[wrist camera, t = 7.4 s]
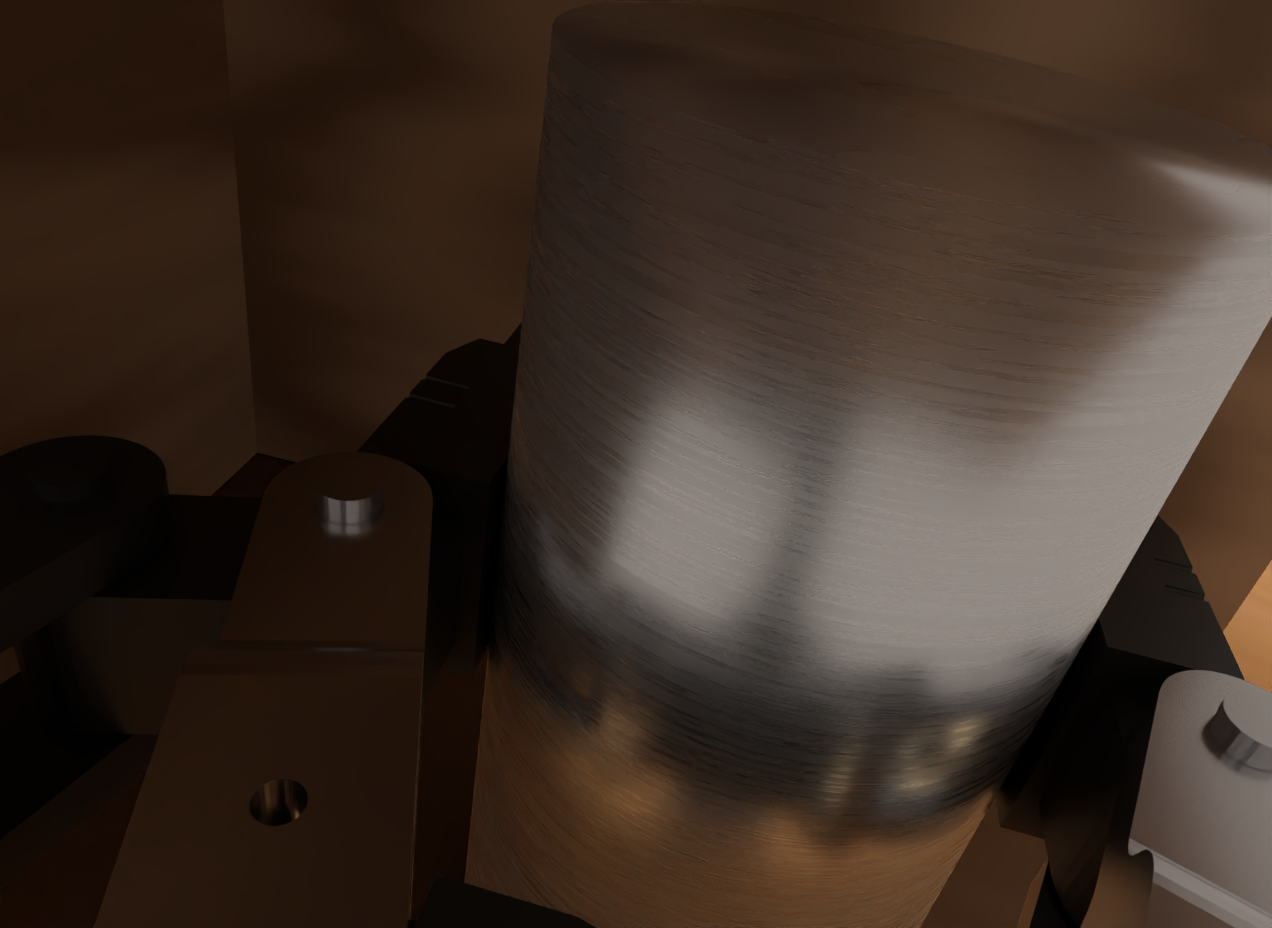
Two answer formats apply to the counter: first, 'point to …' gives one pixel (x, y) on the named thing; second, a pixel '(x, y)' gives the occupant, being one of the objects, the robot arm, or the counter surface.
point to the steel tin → (828, 449)
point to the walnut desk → (421, 213)
